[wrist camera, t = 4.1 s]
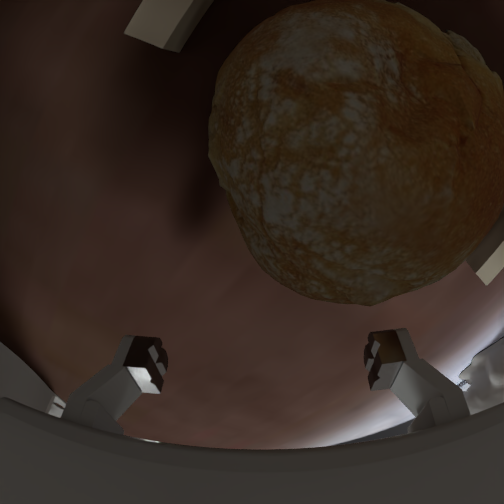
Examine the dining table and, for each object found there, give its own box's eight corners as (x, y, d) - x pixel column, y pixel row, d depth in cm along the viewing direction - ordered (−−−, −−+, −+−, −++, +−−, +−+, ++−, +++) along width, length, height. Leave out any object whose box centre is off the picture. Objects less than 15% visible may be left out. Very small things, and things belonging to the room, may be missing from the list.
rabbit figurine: (435, 404, 23) (456, 485, 15) (412, 382, 20) (439, 487, 12) (530, 337, 18) (568, 414, 10) (528, 299, 15) (583, 392, 7)
